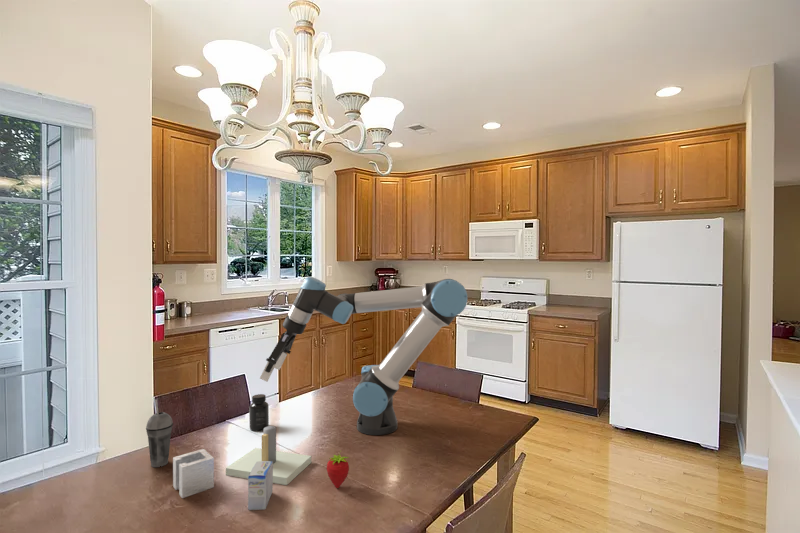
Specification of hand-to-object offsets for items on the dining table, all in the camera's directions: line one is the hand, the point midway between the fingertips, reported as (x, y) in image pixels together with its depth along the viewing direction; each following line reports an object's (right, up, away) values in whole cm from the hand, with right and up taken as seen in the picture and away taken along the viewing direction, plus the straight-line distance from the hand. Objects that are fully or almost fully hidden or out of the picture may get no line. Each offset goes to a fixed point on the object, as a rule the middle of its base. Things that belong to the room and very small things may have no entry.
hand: (270, 373), depth 147 cm
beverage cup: (-28, -23, -18) cm, 41 cm away
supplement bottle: (-7, -23, +10) cm, 26 cm away
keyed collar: (-11, -23, -31) cm, 40 cm away
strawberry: (+28, -23, -32) cm, 48 cm away
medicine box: (+9, -23, -38) cm, 46 cm away
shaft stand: (+6, -23, -21) cm, 32 cm away
